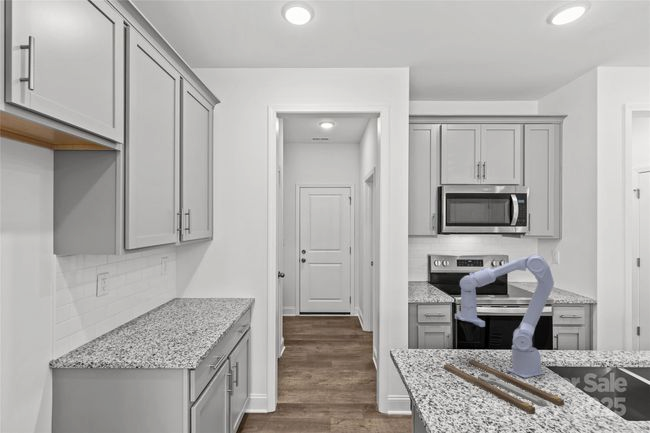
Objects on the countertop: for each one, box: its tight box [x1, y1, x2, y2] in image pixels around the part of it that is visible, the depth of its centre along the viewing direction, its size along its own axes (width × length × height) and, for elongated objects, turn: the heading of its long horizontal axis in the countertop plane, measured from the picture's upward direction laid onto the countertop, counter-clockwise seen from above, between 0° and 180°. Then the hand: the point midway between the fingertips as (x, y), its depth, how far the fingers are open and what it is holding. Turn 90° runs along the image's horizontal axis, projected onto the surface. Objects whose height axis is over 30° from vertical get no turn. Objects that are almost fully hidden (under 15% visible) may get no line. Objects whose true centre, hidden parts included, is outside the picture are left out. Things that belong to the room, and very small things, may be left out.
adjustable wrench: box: [477, 372, 548, 407], centre depth 123 cm, size 25×6×2 cm, turn 20°
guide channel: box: [443, 359, 565, 415], centre depth 128 cm, size 14×38×2 cm, turn 21°
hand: (469, 340), depth 147 cm, fingers closed
